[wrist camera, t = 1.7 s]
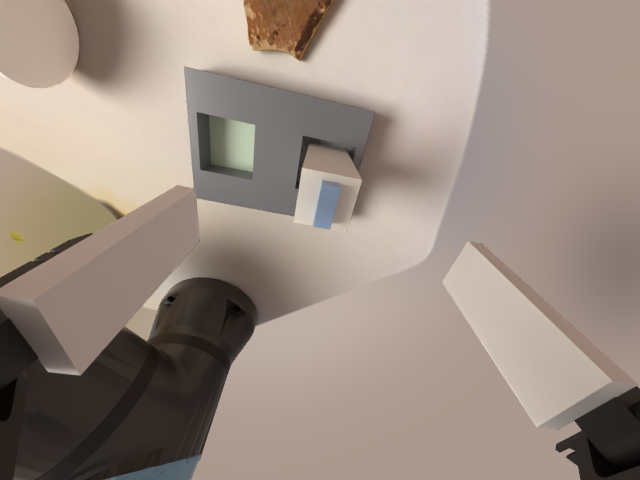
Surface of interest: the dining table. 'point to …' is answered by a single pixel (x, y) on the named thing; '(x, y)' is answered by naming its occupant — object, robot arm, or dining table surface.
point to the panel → (261, 139)
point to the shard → (284, 23)
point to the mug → (37, 42)
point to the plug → (327, 188)
